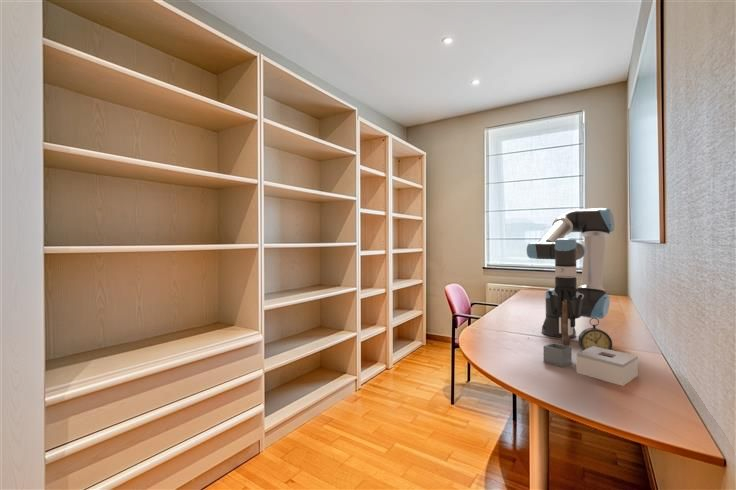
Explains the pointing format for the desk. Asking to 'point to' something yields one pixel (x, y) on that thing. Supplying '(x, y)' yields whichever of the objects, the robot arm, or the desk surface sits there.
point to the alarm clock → (594, 338)
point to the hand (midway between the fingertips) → (566, 333)
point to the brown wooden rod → (565, 323)
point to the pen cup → (557, 354)
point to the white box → (607, 365)
